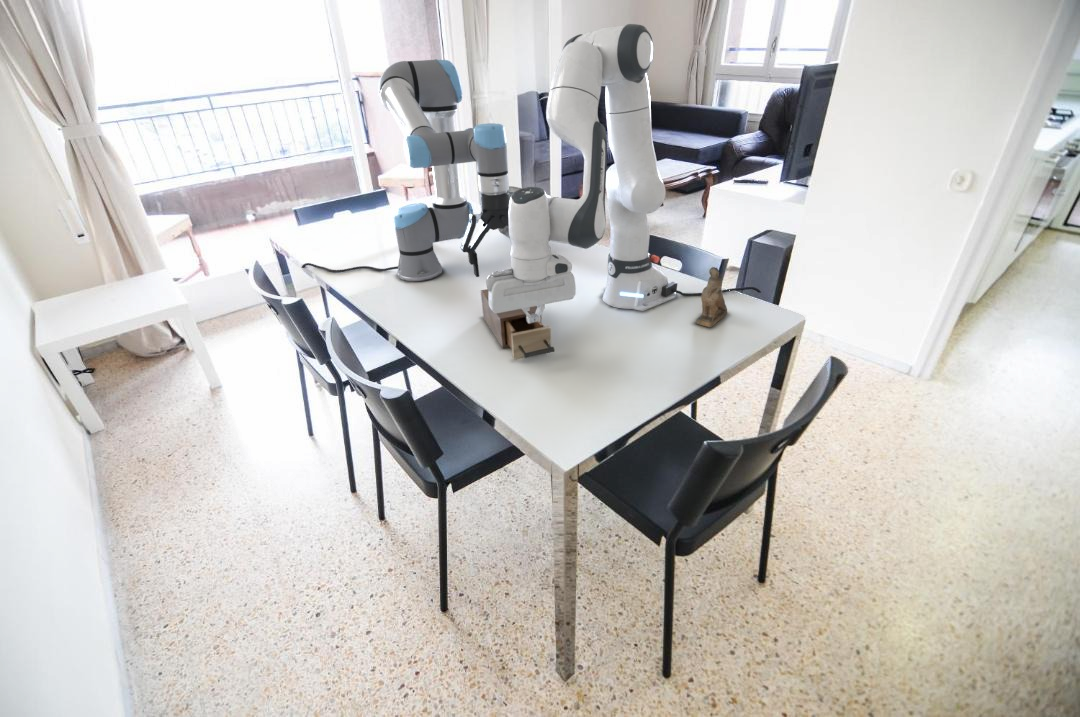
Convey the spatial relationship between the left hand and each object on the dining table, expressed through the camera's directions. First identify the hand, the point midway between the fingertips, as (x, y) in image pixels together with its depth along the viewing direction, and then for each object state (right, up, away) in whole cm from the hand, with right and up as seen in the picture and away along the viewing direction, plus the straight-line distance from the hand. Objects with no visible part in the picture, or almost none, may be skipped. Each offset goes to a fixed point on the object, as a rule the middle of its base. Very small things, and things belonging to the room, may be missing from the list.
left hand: (500, 271), depth 136 cm
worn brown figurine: (+59, -13, +3) cm, 60 cm away
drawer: (+7, -20, -7) cm, 22 cm away
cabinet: (+3, -16, +2) cm, 16 cm away
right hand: (+9, -15, -20) cm, 26 cm away
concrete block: (+4, +23, +65) cm, 69 cm away
